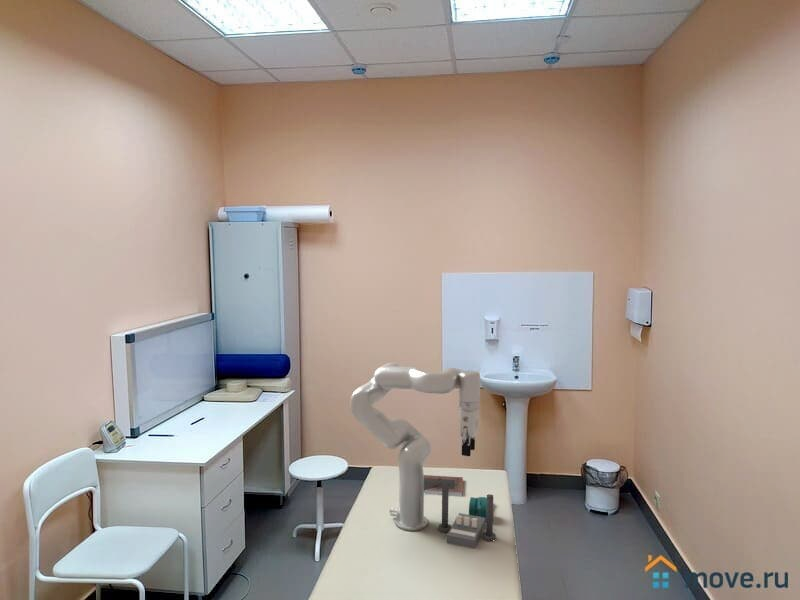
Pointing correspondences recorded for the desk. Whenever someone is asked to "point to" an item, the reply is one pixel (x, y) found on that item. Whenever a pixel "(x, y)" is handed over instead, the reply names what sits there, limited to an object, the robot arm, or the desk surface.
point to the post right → (489, 520)
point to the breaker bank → (466, 521)
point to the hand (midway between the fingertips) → (468, 452)
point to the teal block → (478, 506)
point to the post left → (444, 512)
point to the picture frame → (443, 485)
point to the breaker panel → (466, 532)
